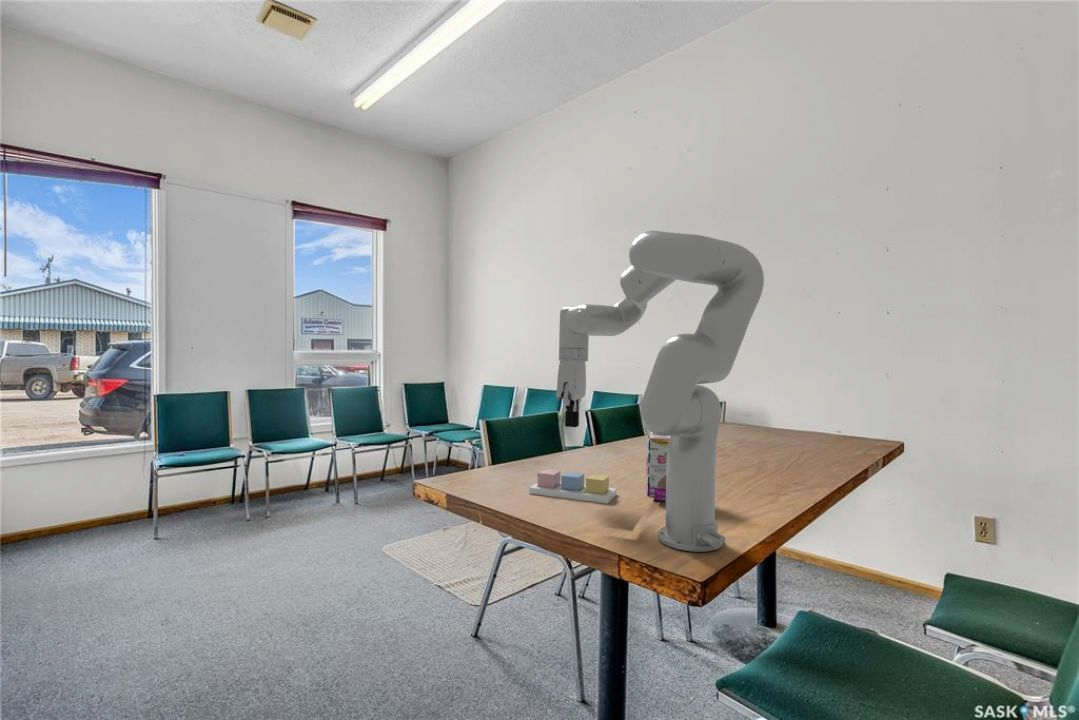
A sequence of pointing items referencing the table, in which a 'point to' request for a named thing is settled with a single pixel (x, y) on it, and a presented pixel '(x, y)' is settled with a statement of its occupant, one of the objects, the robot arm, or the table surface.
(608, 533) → the table surface
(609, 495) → the white rectangular tray
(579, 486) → the slate blue block
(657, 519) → the table surface
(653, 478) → the candy bar box
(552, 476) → the rose block
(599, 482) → the yellow cube
